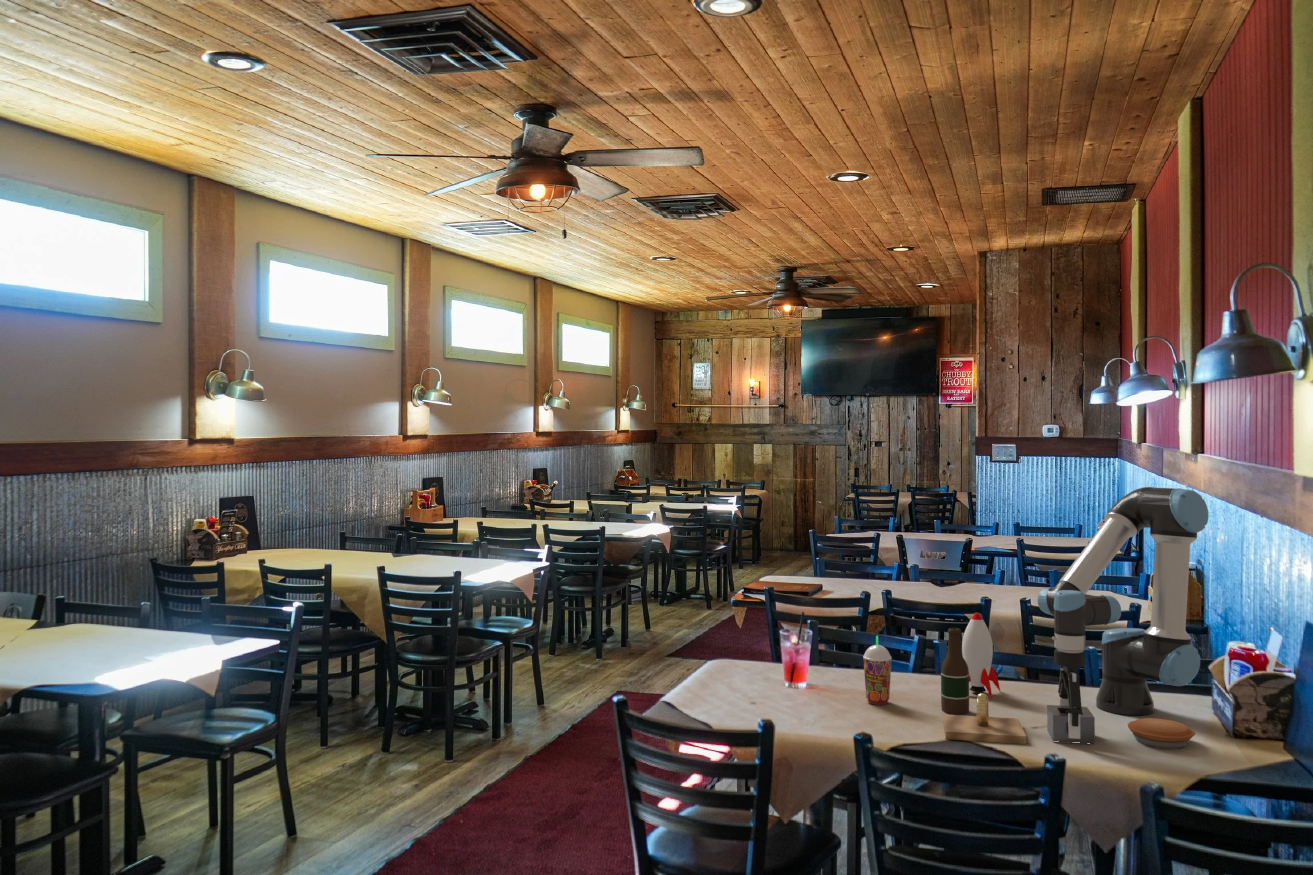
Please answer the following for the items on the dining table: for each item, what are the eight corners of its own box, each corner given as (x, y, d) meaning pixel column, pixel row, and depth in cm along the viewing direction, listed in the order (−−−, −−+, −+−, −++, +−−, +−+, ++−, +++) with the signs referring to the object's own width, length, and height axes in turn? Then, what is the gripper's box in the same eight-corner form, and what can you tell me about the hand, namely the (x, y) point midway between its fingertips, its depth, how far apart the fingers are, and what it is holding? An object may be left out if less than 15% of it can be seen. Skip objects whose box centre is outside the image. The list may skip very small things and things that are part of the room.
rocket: (1000, 691, 300) (999, 611, 300) (992, 699, 291) (991, 616, 291) (964, 686, 306) (963, 608, 306) (955, 694, 297) (954, 613, 297)
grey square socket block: (1087, 732, 258) (1087, 706, 258) (1094, 744, 248) (1094, 717, 248) (1047, 730, 260) (1047, 704, 260) (1053, 742, 250) (1053, 715, 250)
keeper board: (1018, 725, 265) (1018, 718, 265) (1026, 743, 249) (1026, 736, 249) (942, 721, 269) (942, 714, 269) (945, 738, 254) (945, 731, 254)
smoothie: (861, 704, 287) (860, 637, 287) (866, 697, 295) (865, 632, 295) (889, 707, 284) (889, 639, 284) (894, 699, 292) (893, 634, 292)
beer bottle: (970, 715, 275) (970, 631, 275) (942, 714, 276) (941, 630, 276) (967, 708, 282) (966, 626, 282) (940, 706, 284) (939, 625, 284)
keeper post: (988, 723, 260) (987, 692, 260) (989, 726, 257) (988, 695, 257) (976, 722, 261) (976, 691, 261) (977, 726, 258) (977, 694, 258)
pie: (1166, 755, 239) (1166, 735, 239) (1114, 737, 254) (1114, 719, 254) (1209, 746, 246) (1208, 727, 246) (1155, 730, 260) (1155, 711, 260)
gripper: (1047, 639, 267) (1047, 716, 267) (1062, 659, 243) (1062, 743, 243) (1076, 641, 265) (1076, 718, 265) (1094, 661, 241) (1094, 745, 241)
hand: (1069, 730), depth 254 cm, fingers open, 13 cm apart
